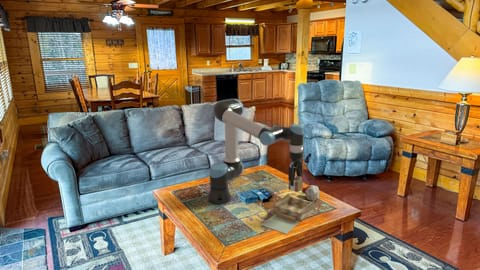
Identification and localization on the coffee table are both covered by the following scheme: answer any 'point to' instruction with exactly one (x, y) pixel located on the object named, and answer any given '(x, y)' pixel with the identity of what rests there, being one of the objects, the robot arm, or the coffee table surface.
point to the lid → (281, 222)
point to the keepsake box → (294, 207)
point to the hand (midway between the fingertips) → (295, 188)
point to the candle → (311, 192)
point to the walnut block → (297, 184)
